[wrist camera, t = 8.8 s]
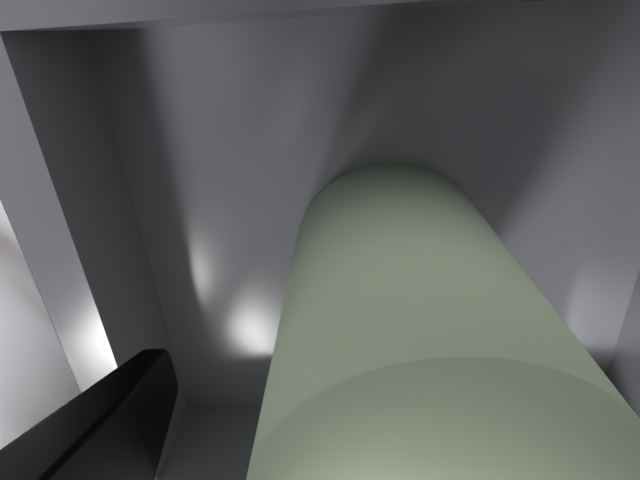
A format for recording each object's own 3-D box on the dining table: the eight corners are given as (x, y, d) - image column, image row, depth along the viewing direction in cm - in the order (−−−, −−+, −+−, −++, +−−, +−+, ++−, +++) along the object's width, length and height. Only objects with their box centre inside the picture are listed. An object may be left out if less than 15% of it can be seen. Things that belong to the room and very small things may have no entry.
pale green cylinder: (304, 326, 13) (269, 608, 6) (288, 166, 11) (213, 360, 4) (471, 322, 12) (604, 615, 6) (491, 157, 10) (731, 351, 4)
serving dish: (170, 412, 16) (127, 505, 13) (40, -22, 10) (-103, -49, 7) (612, 409, 15) (686, 511, 12) (778, -80, 9) (1028, -147, 6)
